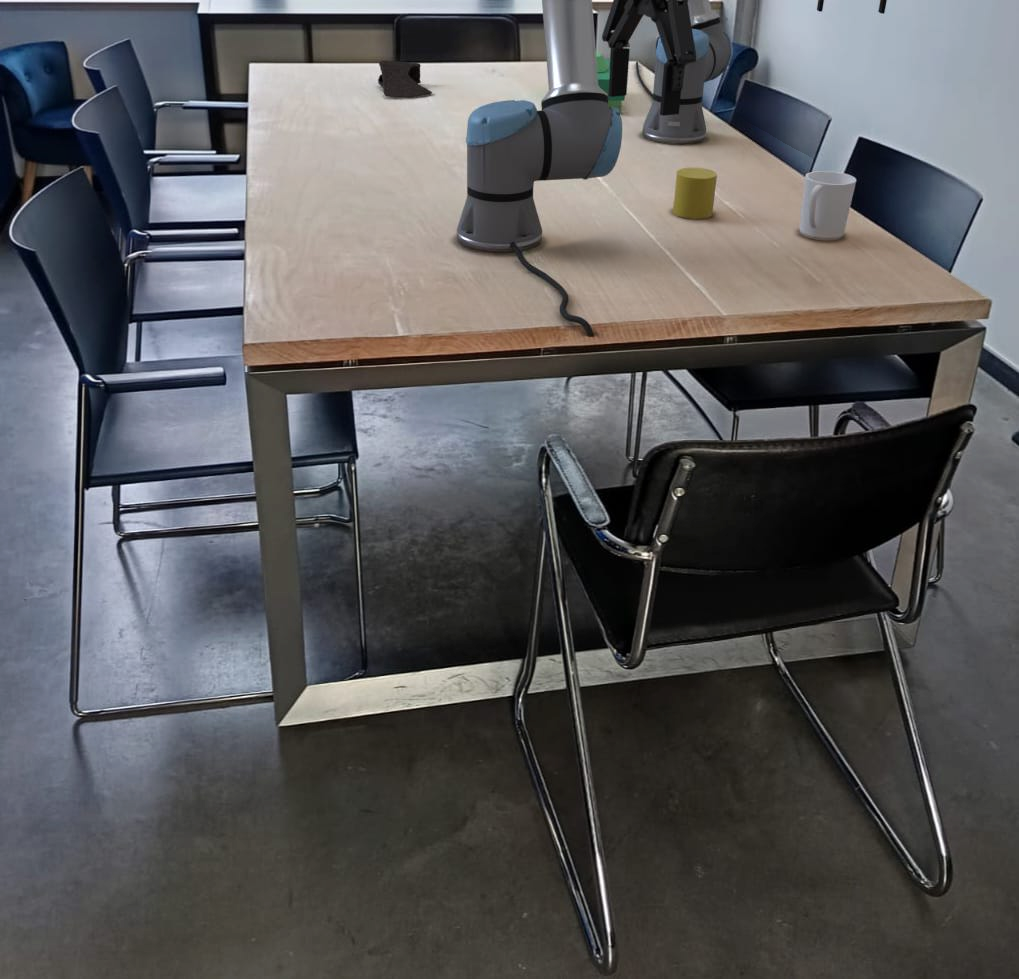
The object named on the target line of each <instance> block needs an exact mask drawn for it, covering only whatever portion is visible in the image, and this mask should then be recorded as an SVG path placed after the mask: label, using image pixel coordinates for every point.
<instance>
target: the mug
mask: <svg viewBox="0 0 1019 979" xmlns="http://www.w3.org/2000/svg"><path fill="white" fill-rule="evenodd" d="M856 183H857V178H856V177H855V176H853V175H851V174H848V173H844V172H840V171H832V170H816V171H809V172H807V173H806V174H805V177H804V184H803V194H802V203H801V212H800V219H799V228H798V232H799V234H800V235H802V236H803V237H805V238H809V239H812V240H817V241H836V240H840V239H842V238H843V237H844V236H845V230H846V227H847V221H848V217H849V215H850V214H849V213H850V209H851V205H852V201H853V196H854V193H855V189H856Z"/></svg>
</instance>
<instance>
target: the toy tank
mask: <svg viewBox="0 0 1019 979" xmlns="http://www.w3.org/2000/svg"><path fill="white" fill-rule="evenodd" d="M596 62H597V76H598V86H599V87H600V88H601V89H602V90H603V91H604V92H606V93H607V94H609V78H610V58H609V59H606V58H604V54H602V53H601V52H598V51H596ZM625 100H626V95H625V96H615V97H610V96H608V105H609V107H614V108H617V109H618V110H619V112H621V109H622V102H624V101H625Z"/></svg>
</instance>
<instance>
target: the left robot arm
mask: <svg viewBox="0 0 1019 979" xmlns="http://www.w3.org/2000/svg"><path fill="white" fill-rule="evenodd" d="M677 3H678V4H677ZM541 5H542V20H543V32H544V44H545V45H544V46H545V56H546V57H545V58H546V72H547V85H548V92H547V93H546V95H545V96H544V97H543V98H542V100H541V102H540V107H541V110H538V109H537V107H536V105H535V103H534V102H531V101H529V100H524V99H523V100H522V99H520V100H515V99H511V100H510V99H509V100H499V101H494V102H491V103H487V104H484V105H481V106H479V107H478V108H475V109H474V110H472V112H471V113H470V114H469V116H468V119H467V126H466V127H467V128H466V137H465V143H466V192H467V193H466V198H465V202H464V205H463V209H462V211H461V214H460V218H459V220H458V224H457V227H456V241H457V243H458V244H459V245H461V246H462V247H464V248H466V249H468V250H470V251H475V252H479V253H486V254H497V255H499V254H500V255H506V254H507V255H508V254H515V255H516V257H517V259H518V261H519V262H520V264H521V265H522V266H523V267H524V268H525V269H526V270H527V271H529V272H530V273H533V275H535V276H538V277H539V278H541V279H542V280H544V281H545V282H546V283H548V284H549V285H550V286H551V287H552V288H554V289H555V290H556V291H557V292H558V293H559V295H560V296H561V298H562V299H561V302H560V305H559V314H560V316H561V317H562V318H563V319H564V320H565V321H568V322H571V323H575V324H579V325H580V326H581V327H582V328H583V329H584V330H585V333H586V335H587V337H589V338H594V337H595V333H594V330H593V328H592V326H591V325H590V323H589V321H587V320H586V319H585V318H583V317H582V316H578V315H573V314H570V313H568V311H567V307H568V304H569V294H568V292H567V291H566V289H565V288H564V287H563V286H562V285H561V284H560V283H559V282H557V281H556V280H555V279H554V278H553V277H552V276H550V275H548V274H547V273H546V272H544V271H543V270H541V269H539V268H538V267H536V266H535V265H533V264H531V263H530V262H528V261H527V259H526V258H525V256H524V254H523V253H524V252H527V251H530V250H533V249H536V248H538V247H539V246H540V245H541V244H542V243H543V229H542V224H541V221H540V220H541V219H540V218H539V214H538V213H539V212H538V210H537V206H536V204H535V199H534V184H535V182H540V181H545V182H546V181H559V180H579V179H580V180H584V181H585V180H589V179H595V178H602V177H606V176H608V175H609V174H610V173H611V172H613V170H614V168H615V167H616V164H617V162H618V159H619V157H620V152H621V148H622V141H623V119H622V116H621V111H619V110H618V109H617V108H614V107H609V105H608V96H610V97H615V96H625V97H626V96H627V95H628V94H627V93H628V80H629V79H628V78H629V66H630V51H631V50H630V49H631V48H630V47H631V45H630V42H629V41H630V40H631V38H632V36H633V34H634V32H635V31H636V29H637V27H638V26H639V23H640V22H641V20H642V18H643V17H644V16H645V17H647V18H650V20H651V22H653V23H655V26H656V29H657V33H658V35H659V37H660V39H661V42H662V45H663V48H664V51H665V54H666V57H667V60H668V61H667V62H666V63H665V64H664V72H663V84H662V95H661V107H660V115H662V116H665V115H675V114H679V108H680V98H681V90H682V88H683V79H684V69H685V66H686V65H687V64H688V63H692V62H695V61H696V51H695V44H694V38H693V32H692V26H691V20H690V14H689V8H688V0H613V2H612V4H611V7H610V10H609V14H608V16H607V19H606V23H605V25H604V28H603V31H602V35H601V39H602V41H603V42H607V45H608V48H609V49H610V54H609V59H610V78H609V94H607V93H606V92H604V91H603V90H602V89H601V88H600V87H599V86H598V76H597V62H596V52H597V50H596V37H595V36H596V34H595V24H594V23H595V22H594V8H593V0H541ZM686 52H687V53H686ZM675 55H676V56H675Z"/></svg>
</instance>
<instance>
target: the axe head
mask: <svg viewBox="0 0 1019 979" xmlns="http://www.w3.org/2000/svg"><path fill="white" fill-rule="evenodd" d="M378 66H379V68H380V72H381V74H379V75H378V79H377V84H378V85H379V86H380V87H381V88H382V89H383V95H384V96H385V97H388V98H394V99H395V98H396V99H403V98H405V99H406V98H407V99H411V98H418V97H425V96H429V95H432V94H433V91H431V90H430V89H428V88H427V87H425V86H422V85H421V84H422V82H421V63H419V62H410V61H408V62H407V61H397V60H388V59H387V60H380V61H379V62H378Z"/></svg>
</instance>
